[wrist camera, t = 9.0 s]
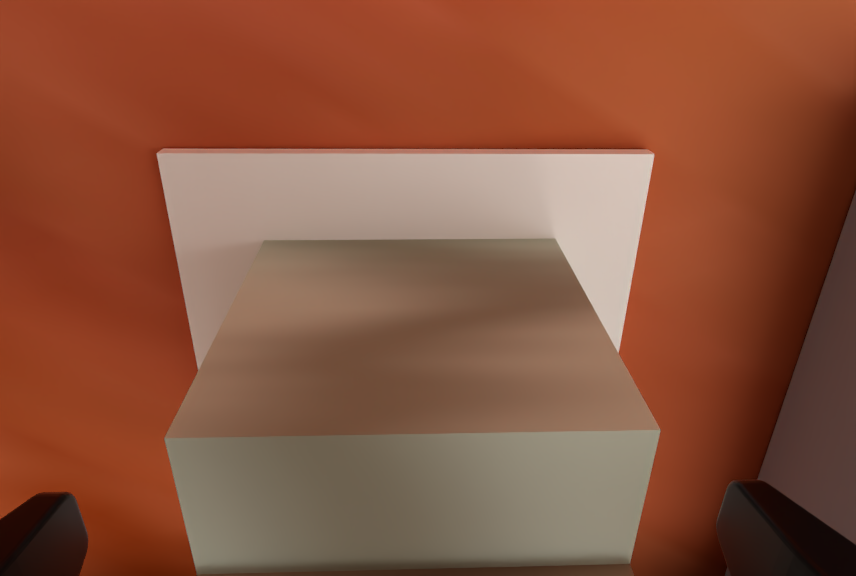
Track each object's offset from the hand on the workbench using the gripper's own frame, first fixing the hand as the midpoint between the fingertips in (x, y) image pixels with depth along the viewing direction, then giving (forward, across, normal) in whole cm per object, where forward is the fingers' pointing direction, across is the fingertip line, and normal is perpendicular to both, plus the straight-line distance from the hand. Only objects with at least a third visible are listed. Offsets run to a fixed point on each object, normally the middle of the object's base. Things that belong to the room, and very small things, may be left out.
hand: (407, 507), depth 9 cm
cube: (+4, 0, 0) cm, 4 cm away
